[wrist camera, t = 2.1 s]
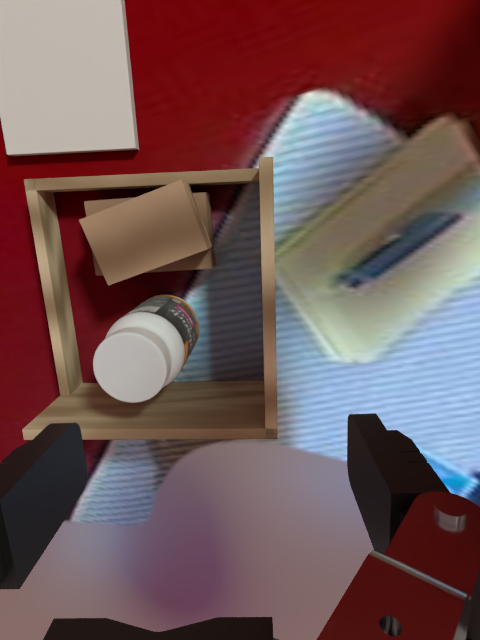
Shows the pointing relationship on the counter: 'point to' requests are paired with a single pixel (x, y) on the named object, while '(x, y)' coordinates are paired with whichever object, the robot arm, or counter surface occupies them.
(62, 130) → the tile
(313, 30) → the counter surface
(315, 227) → the counter surface
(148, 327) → the pill bottle
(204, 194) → the offcut block lower
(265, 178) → the wooden box frame
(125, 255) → the offcut block upper
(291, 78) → the counter surface
